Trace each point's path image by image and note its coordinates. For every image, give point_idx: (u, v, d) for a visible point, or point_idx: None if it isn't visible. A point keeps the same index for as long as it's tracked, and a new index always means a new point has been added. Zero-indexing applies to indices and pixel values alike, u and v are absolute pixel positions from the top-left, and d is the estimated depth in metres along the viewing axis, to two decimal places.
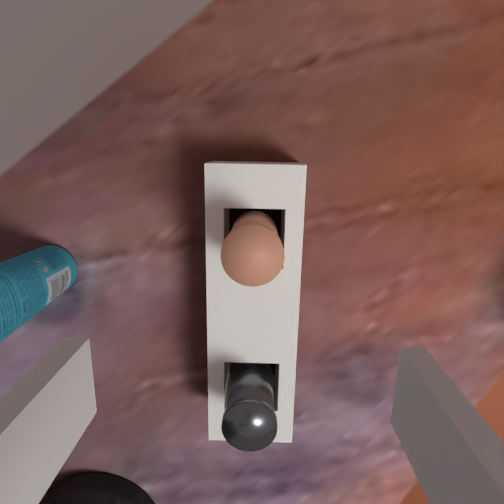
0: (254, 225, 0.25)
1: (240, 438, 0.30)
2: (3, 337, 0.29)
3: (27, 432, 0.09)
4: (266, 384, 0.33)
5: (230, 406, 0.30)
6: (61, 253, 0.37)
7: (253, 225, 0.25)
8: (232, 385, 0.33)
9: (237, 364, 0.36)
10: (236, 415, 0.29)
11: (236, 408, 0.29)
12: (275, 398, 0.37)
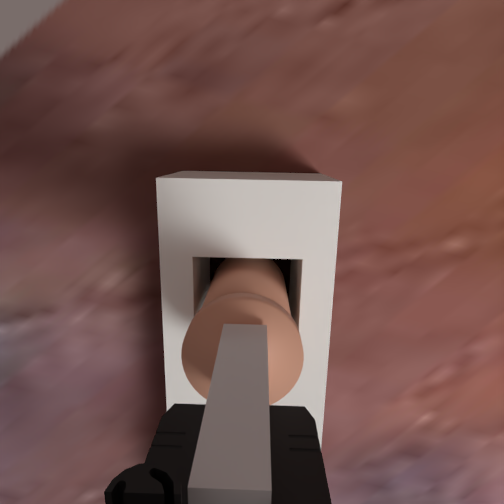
0: (246, 301, 0.13)
1: None
2: None
3: None
4: None
5: None
6: None
7: (244, 301, 0.13)
8: None
9: None
10: None
11: None
12: None
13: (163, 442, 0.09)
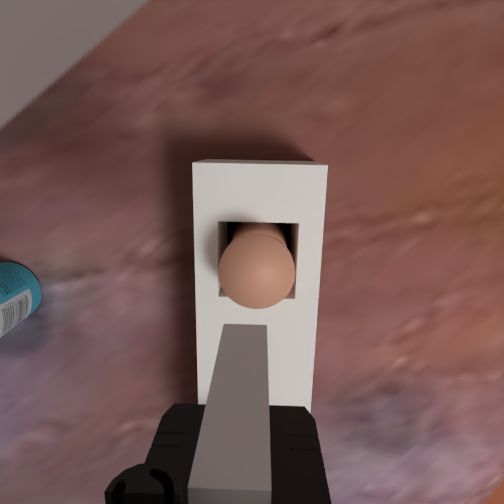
0: (259, 236, 0.21)
1: None
2: None
3: None
4: None
5: None
6: (20, 273, 0.30)
7: (258, 236, 0.21)
8: None
9: None
10: None
11: None
12: None
13: (163, 442, 0.09)
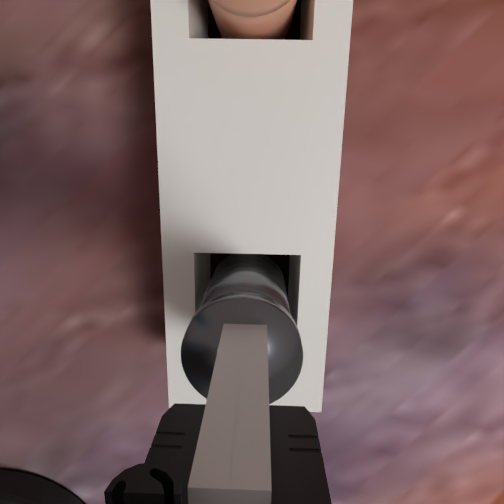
0: None
1: None
2: None
3: None
4: (276, 284, 0.17)
5: (200, 310, 0.14)
6: None
7: None
8: (210, 288, 0.17)
9: (222, 263, 0.20)
10: (213, 327, 0.13)
11: (212, 310, 0.13)
12: None
13: (163, 442, 0.09)
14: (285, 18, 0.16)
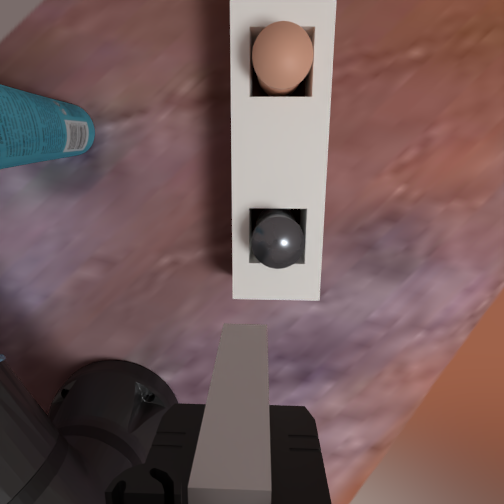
0: (284, 21, 0.27)
1: (269, 255, 0.31)
2: (22, 156, 0.28)
3: None
4: (292, 217, 0.34)
5: (259, 223, 0.31)
6: (79, 109, 0.36)
7: (283, 21, 0.27)
8: (259, 220, 0.34)
9: (262, 212, 0.37)
10: (265, 229, 0.31)
11: (266, 222, 0.31)
12: (301, 258, 0.36)
13: (163, 442, 0.09)
14: None
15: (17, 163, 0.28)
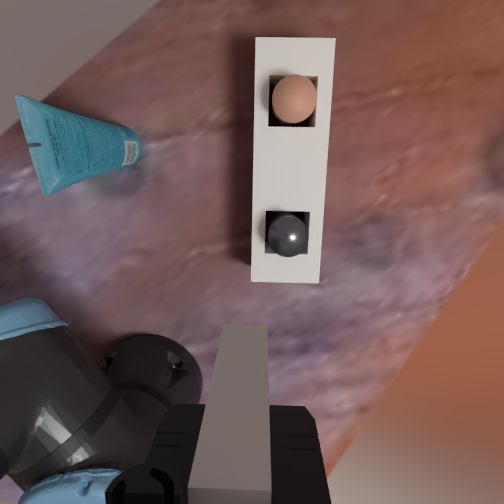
0: (296, 74, 0.36)
1: (281, 246, 0.41)
2: (100, 169, 0.37)
3: None
4: (298, 218, 0.44)
5: (274, 222, 0.41)
6: (131, 131, 0.45)
7: (296, 74, 0.36)
8: (272, 220, 0.44)
9: (274, 213, 0.47)
10: (279, 227, 0.40)
11: (279, 221, 0.40)
12: (304, 250, 0.45)
13: (163, 442, 0.09)
14: None
15: (96, 175, 0.37)
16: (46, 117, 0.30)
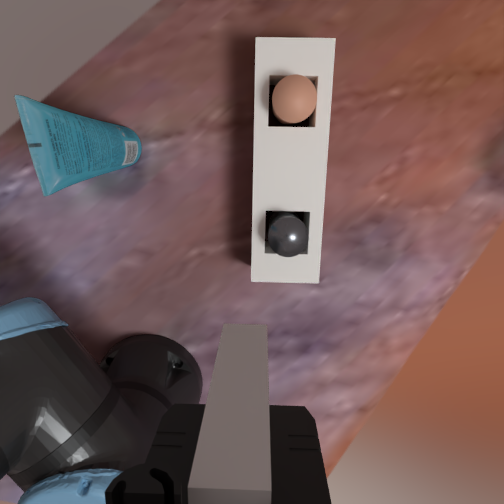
0: (296, 74, 0.36)
1: (281, 246, 0.41)
2: (100, 169, 0.37)
3: None
4: (298, 218, 0.44)
5: (274, 222, 0.41)
6: (131, 131, 0.45)
7: (296, 74, 0.36)
8: (272, 220, 0.44)
9: (274, 213, 0.47)
10: (279, 227, 0.40)
11: (279, 221, 0.40)
12: (304, 250, 0.45)
13: (163, 442, 0.09)
14: None
15: (96, 175, 0.37)
16: (46, 117, 0.30)
